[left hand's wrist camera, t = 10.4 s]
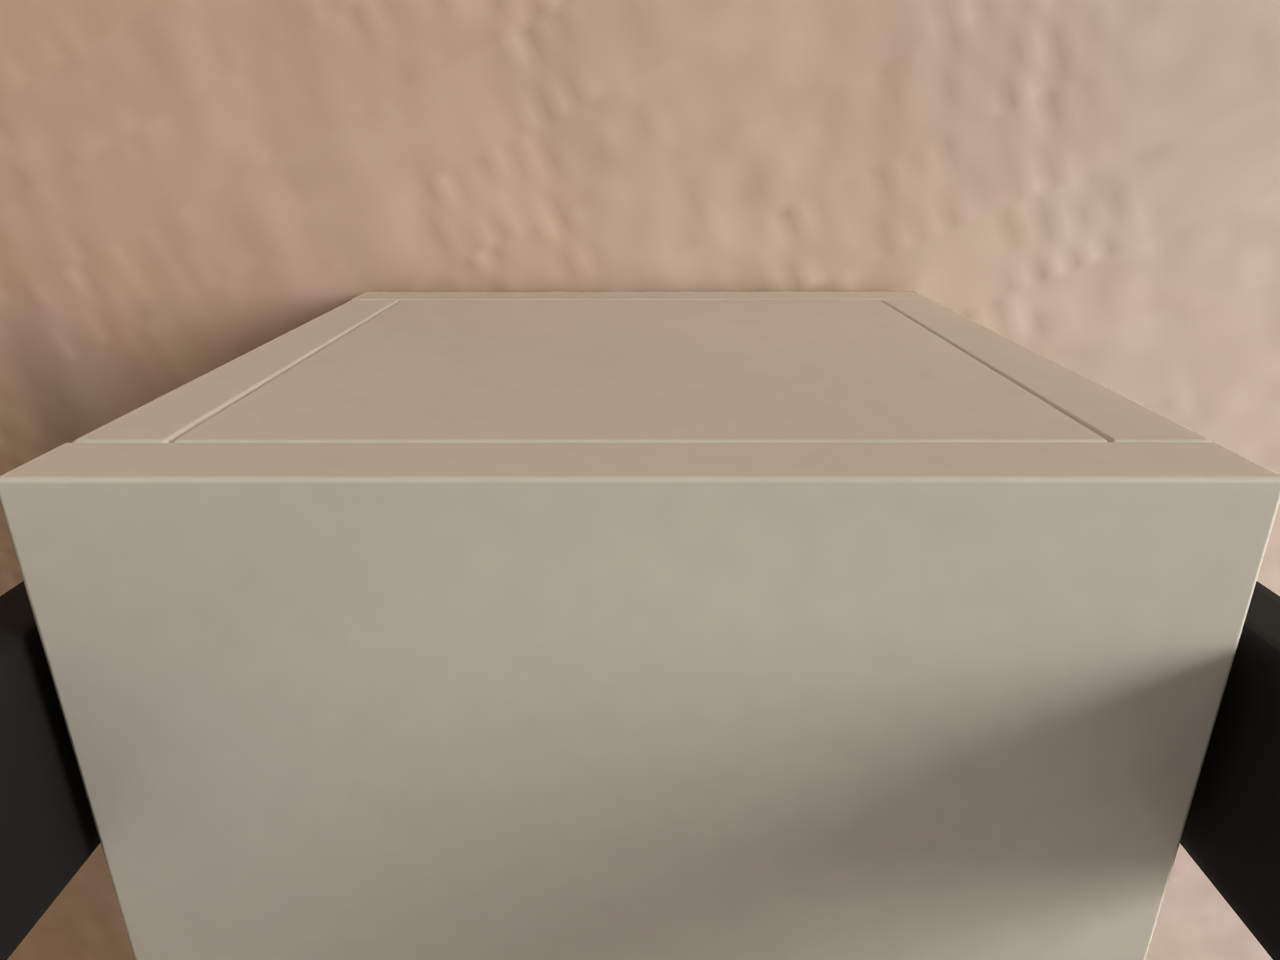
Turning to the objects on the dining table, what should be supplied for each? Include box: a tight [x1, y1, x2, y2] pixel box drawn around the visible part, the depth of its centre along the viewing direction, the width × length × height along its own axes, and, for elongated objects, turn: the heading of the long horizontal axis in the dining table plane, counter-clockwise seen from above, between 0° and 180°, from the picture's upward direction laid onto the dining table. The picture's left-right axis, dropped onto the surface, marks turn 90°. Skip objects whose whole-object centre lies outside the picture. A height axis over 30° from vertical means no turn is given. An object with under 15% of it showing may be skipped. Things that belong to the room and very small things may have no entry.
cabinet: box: [0, 291, 1280, 960], centre depth 16 cm, size 19×11×11 cm, turn 0°
